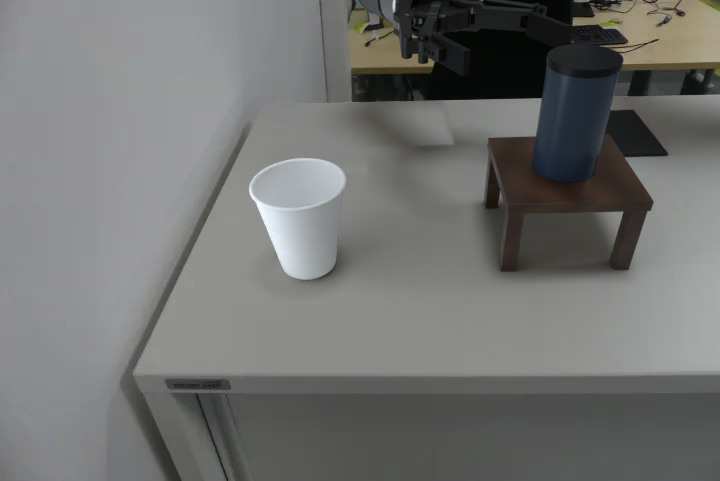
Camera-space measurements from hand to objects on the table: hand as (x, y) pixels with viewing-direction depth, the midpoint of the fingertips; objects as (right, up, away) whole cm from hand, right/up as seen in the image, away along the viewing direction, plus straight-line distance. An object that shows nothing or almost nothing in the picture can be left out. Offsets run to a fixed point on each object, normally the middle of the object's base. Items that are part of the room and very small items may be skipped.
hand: (519, 50), depth 61 cm
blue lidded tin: (+5, -13, -1) cm, 13 cm away
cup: (-23, -24, +3) cm, 33 cm away
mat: (+19, -5, +23) cm, 30 cm away
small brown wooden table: (+5, -20, +5) cm, 21 cm away
